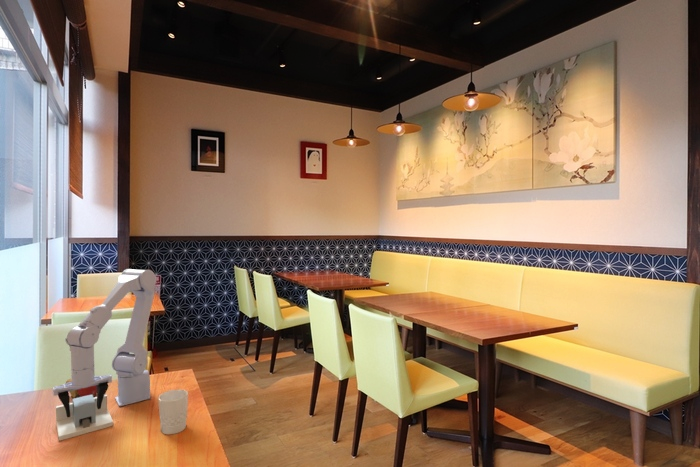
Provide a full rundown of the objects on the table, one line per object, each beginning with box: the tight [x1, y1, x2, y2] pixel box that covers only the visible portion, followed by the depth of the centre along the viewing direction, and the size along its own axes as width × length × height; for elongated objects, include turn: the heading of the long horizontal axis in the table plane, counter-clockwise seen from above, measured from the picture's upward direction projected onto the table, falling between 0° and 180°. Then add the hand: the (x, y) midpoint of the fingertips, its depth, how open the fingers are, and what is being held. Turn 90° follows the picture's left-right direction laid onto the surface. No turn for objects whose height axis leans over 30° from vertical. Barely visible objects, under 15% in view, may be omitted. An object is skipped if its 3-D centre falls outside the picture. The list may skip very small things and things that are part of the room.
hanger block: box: [72, 395, 96, 428], centre depth 119 cm, size 5×7×6 cm
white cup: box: [158, 388, 189, 435], centre depth 117 cm, size 8×8×10 cm
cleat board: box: [55, 394, 114, 441], centre depth 119 cm, size 13×12×5 cm
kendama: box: [65, 378, 97, 399], centre depth 141 cm, size 8×6×18 cm
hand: (83, 411), depth 120 cm, fingers open, 7 cm apart
